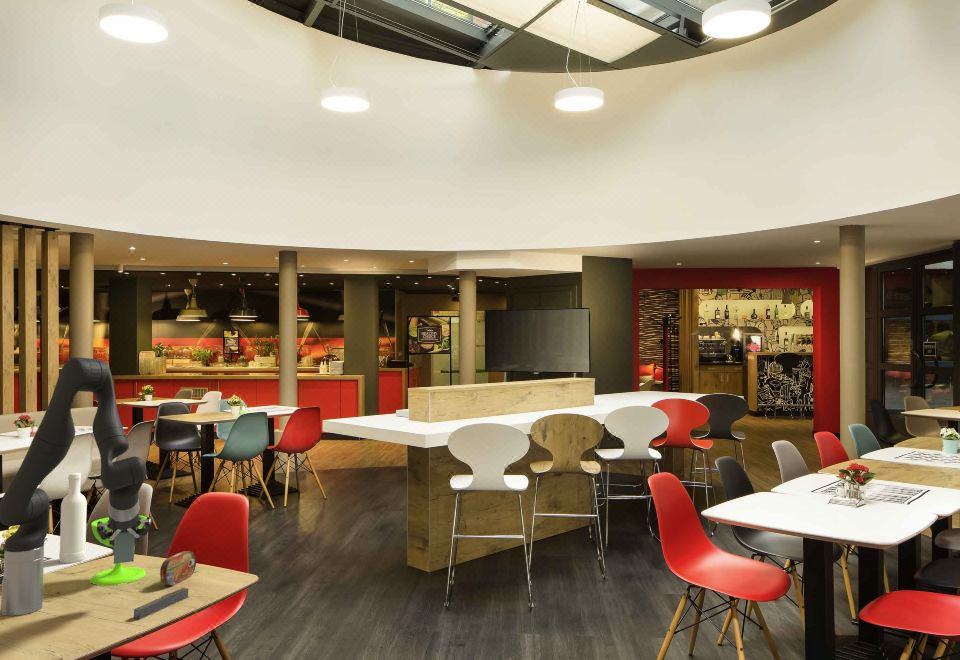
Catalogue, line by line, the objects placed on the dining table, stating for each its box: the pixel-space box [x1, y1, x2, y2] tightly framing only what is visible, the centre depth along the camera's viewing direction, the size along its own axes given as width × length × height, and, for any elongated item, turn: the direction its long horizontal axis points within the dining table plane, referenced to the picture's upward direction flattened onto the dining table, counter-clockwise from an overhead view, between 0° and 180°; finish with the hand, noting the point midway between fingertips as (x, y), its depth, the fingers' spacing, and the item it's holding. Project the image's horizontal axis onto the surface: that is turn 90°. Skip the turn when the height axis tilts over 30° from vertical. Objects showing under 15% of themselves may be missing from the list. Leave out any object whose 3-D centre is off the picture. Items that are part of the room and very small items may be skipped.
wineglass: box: [89, 514, 147, 586], centre depth 217 cm, size 16×16×18 cm
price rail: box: [133, 587, 189, 620], centre depth 191 cm, size 18×3×2 cm, turn 161°
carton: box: [113, 532, 136, 565], centre depth 195 cm, size 5×4×10 cm
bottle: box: [59, 472, 88, 564], centre depth 236 cm, size 8×8×30 cm
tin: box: [159, 550, 197, 587], centre depth 214 cm, size 15×3×8 cm, turn 168°
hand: (124, 542), depth 196 cm, fingers closed on carton, 5 cm apart
